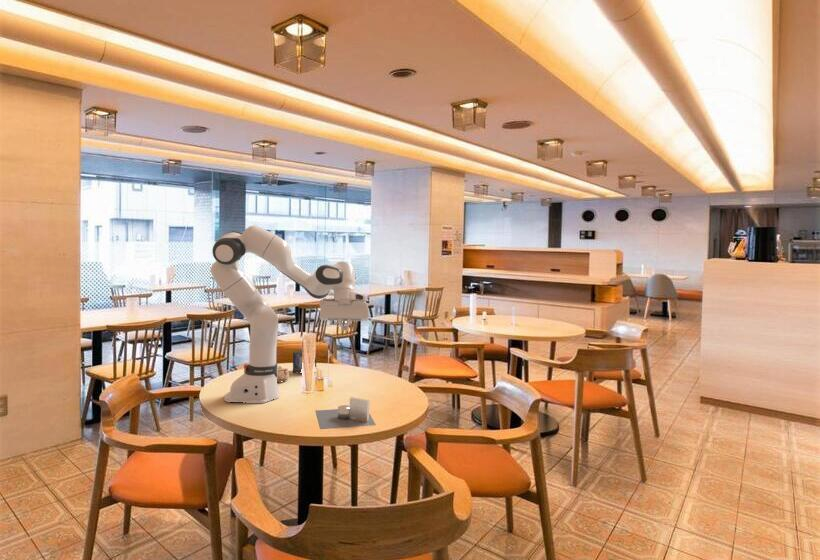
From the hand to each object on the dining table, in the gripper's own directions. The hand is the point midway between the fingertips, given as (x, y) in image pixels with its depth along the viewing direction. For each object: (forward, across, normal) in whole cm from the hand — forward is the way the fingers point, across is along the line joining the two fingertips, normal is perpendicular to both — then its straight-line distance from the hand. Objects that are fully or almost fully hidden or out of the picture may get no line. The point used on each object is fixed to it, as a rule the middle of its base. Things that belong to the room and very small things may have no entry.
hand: (344, 330), depth 204 cm
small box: (+1, -17, +63) cm, 65 cm away
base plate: (+36, 0, 0) cm, 36 cm away
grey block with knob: (+36, +3, -2) cm, 36 cm away
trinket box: (+8, -32, +50) cm, 60 cm away
